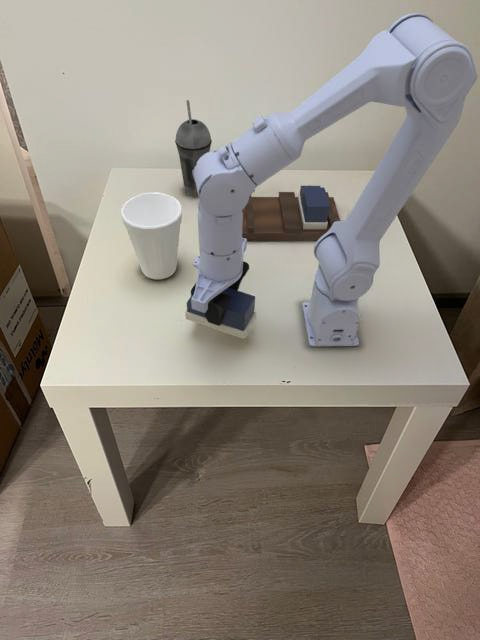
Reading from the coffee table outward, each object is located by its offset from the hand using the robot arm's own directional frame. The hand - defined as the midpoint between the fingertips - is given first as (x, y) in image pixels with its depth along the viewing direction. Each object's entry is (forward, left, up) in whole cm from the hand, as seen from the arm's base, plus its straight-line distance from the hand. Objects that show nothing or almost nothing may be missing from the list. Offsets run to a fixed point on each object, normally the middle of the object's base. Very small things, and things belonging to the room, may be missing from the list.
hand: (221, 311), depth 75 cm
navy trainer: (0, 0, -2) cm, 2 cm away
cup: (+15, +11, -6) cm, 20 cm away
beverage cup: (+40, +5, -6) cm, 41 cm away
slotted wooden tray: (+29, -14, -5) cm, 33 cm away
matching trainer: (+29, -18, -3) cm, 35 cm away
